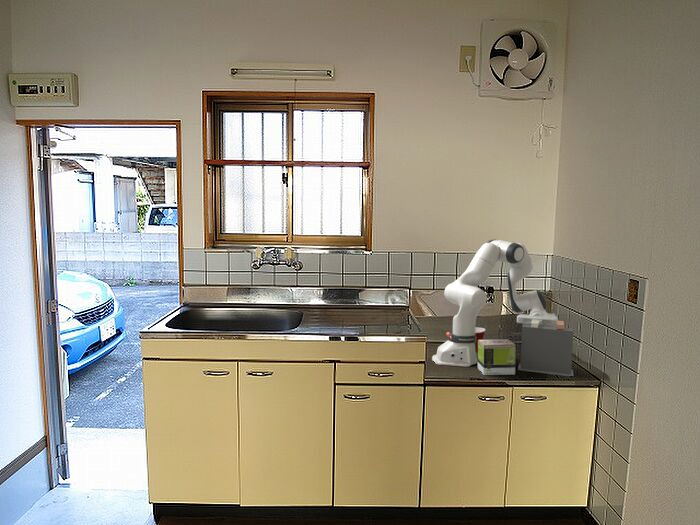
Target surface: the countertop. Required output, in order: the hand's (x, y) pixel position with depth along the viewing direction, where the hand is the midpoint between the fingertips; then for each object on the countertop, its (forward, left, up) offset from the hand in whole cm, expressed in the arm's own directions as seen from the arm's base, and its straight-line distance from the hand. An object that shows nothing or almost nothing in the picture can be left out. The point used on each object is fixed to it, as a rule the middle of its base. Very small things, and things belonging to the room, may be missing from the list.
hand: (536, 323), depth 245 cm
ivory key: (-7, -17, -2) cm, 18 cm away
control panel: (-2, -20, -18) cm, 27 cm away
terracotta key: (+4, -20, -2) cm, 20 cm away
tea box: (-26, -22, -18) cm, 39 cm away
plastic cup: (-28, +12, -18) cm, 36 cm away
